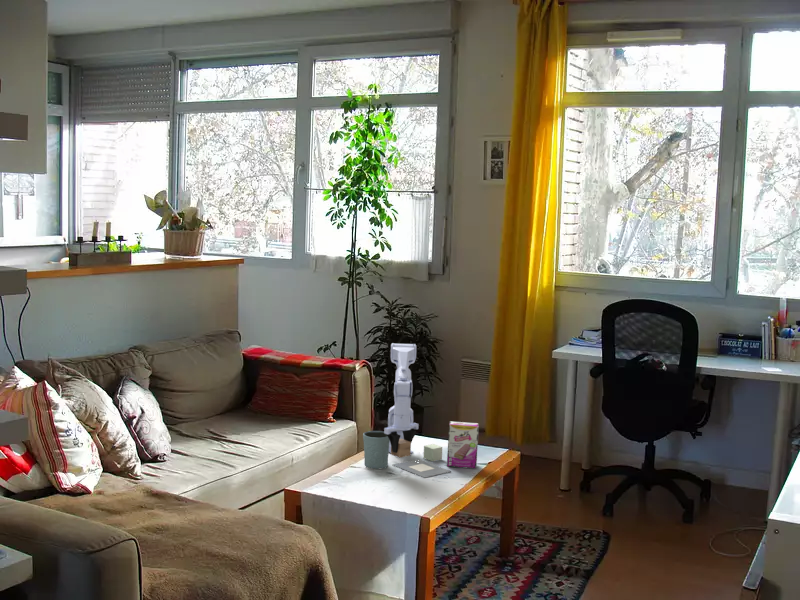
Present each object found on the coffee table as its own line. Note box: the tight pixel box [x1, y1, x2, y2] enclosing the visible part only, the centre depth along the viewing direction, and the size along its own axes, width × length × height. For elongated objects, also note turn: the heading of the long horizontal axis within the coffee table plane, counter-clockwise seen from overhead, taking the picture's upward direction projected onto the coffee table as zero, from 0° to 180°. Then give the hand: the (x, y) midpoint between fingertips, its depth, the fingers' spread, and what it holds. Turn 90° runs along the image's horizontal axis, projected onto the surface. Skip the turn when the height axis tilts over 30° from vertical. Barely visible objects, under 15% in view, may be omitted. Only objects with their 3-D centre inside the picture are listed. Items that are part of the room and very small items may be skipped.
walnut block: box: [390, 439, 412, 458], centre depth 308 cm, size 5×5×5 cm
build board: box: [392, 458, 452, 479], centre depth 315 cm, size 18×13×1 cm
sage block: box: [423, 443, 443, 462], centre depth 328 cm, size 5×5×5 cm
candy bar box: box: [446, 420, 480, 469], centre depth 320 cm, size 11×5×16 cm, turn 84°
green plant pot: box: [362, 430, 390, 470], centre depth 317 cm, size 10×10×12 cm
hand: (400, 450), depth 308 cm, fingers closed on walnut block, 5 cm apart
